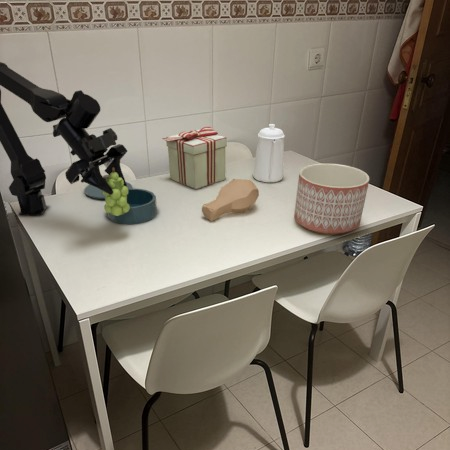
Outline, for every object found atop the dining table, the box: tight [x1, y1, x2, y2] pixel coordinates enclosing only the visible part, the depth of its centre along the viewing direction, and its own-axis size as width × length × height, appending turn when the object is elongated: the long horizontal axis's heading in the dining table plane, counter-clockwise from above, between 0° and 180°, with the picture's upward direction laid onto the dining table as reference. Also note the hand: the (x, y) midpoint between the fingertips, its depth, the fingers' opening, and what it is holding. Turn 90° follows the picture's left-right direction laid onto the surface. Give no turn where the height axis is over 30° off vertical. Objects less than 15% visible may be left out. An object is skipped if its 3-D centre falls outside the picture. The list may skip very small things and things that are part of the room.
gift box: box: [162, 126, 228, 190], centre depth 156 cm, size 17×18×17 cm
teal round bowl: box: [104, 188, 158, 225], centre depth 134 cm, size 15×15×5 cm
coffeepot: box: [252, 123, 286, 183], centre depth 157 cm, size 11×25×19 cm, turn 179°
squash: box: [201, 178, 260, 222], centre depth 136 cm, size 11×20×9 cm, turn 135°
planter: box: [293, 162, 370, 236], centre depth 129 cm, size 19×19×15 cm
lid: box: [84, 174, 134, 200], centre depth 148 cm, size 16×16×5 cm
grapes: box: [103, 167, 130, 216], centre depth 117 cm, size 7×7×12 cm
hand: (118, 190), depth 116 cm, fingers closed on grapes, 5 cm apart
